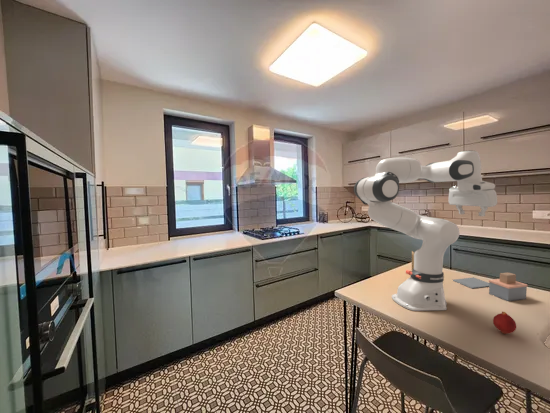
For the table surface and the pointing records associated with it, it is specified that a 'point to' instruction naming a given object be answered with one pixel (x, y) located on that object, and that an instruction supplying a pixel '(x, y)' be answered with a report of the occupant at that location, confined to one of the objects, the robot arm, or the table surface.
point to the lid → (508, 281)
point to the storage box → (507, 292)
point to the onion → (504, 323)
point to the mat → (472, 282)
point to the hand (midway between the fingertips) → (471, 215)
